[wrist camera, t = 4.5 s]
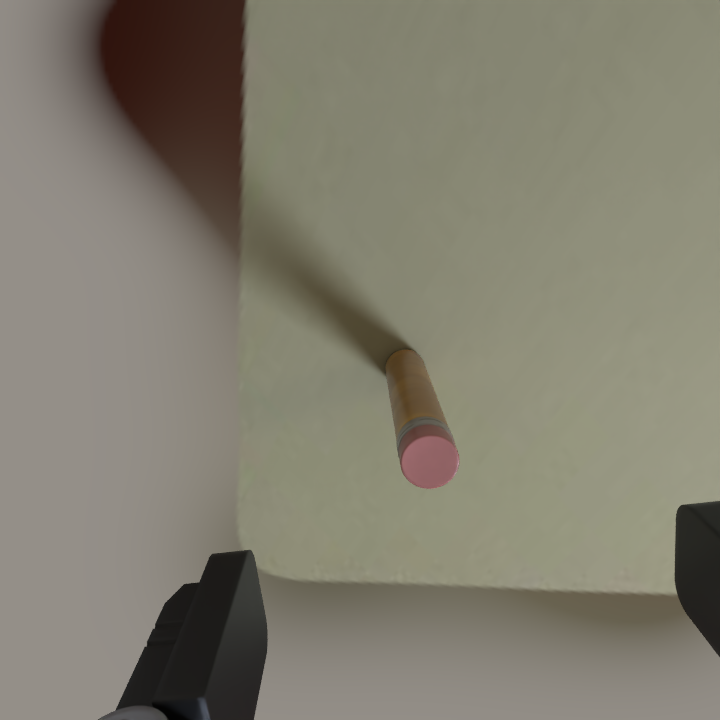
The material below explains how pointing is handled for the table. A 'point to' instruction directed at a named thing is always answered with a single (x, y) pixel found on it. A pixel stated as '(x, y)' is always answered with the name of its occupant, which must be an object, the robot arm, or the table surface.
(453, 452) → the pencil
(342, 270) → the table surface
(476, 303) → the table surface
